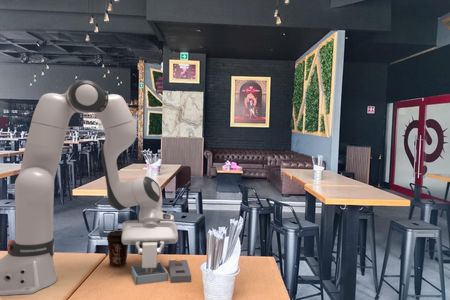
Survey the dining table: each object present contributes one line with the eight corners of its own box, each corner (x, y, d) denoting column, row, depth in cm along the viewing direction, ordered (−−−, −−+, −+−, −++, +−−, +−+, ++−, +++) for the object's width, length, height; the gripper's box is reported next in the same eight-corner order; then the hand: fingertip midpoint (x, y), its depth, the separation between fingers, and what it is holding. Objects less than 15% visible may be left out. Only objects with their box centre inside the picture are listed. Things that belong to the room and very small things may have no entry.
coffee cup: (106, 262, 139) (107, 229, 138) (128, 261, 141) (129, 229, 141) (106, 270, 130) (107, 236, 130) (129, 269, 133) (130, 234, 133)
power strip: (191, 282, 123) (191, 273, 123) (170, 283, 121) (171, 274, 121) (186, 266, 138) (186, 258, 138) (168, 266, 137) (168, 258, 137)
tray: (136, 285, 119) (136, 276, 118) (130, 273, 129) (131, 265, 128) (168, 281, 123) (168, 272, 123) (160, 270, 133) (160, 262, 133)
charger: (141, 274, 124) (142, 245, 123) (142, 270, 127) (142, 242, 127) (156, 273, 125) (157, 245, 124) (156, 269, 128) (157, 242, 128)
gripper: (121, 215, 130) (118, 250, 120) (177, 215, 134) (178, 249, 125) (122, 224, 134) (119, 259, 125) (176, 224, 138) (177, 257, 129)
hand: (149, 254), depth 125 cm, fingers closed on charger, 5 cm apart
